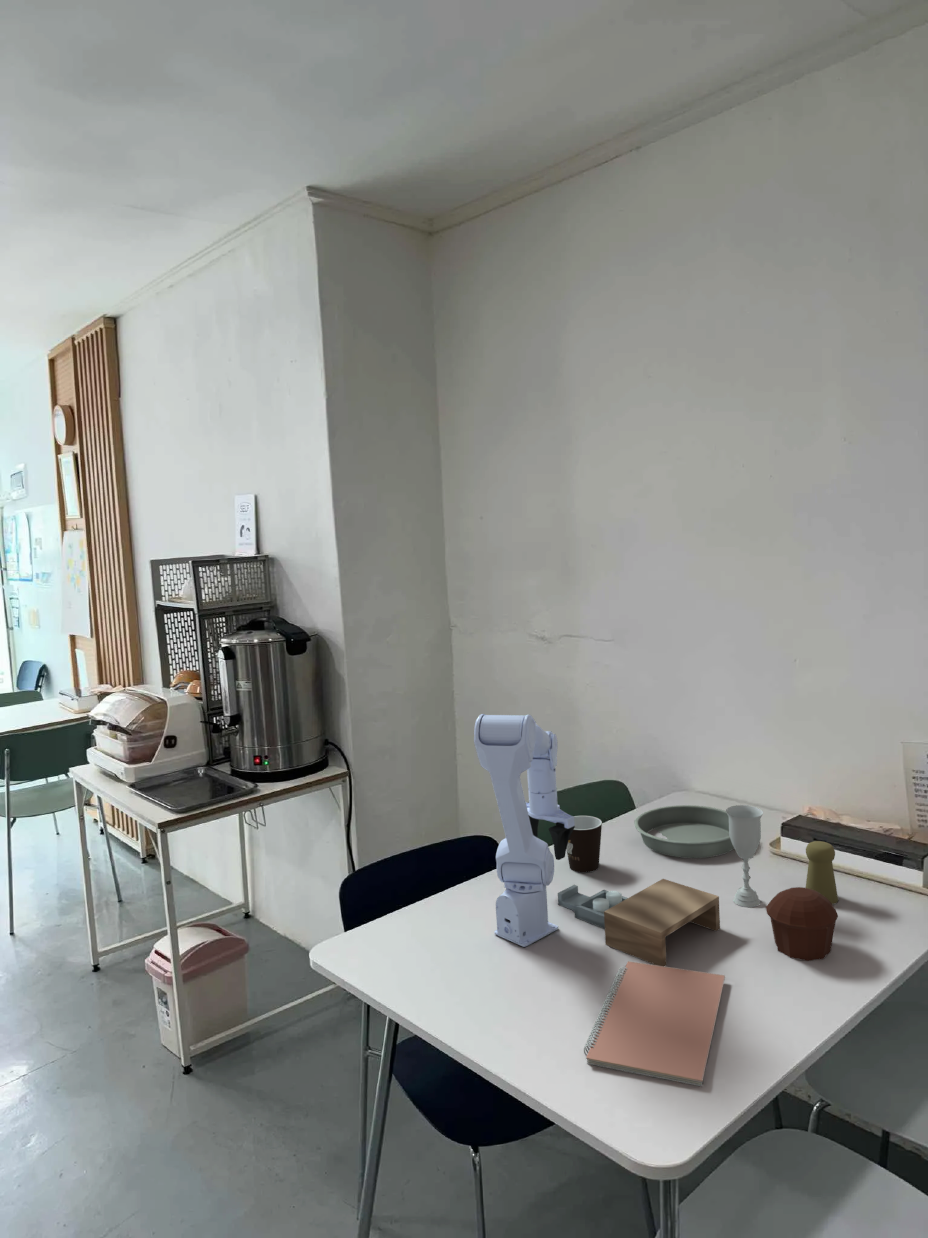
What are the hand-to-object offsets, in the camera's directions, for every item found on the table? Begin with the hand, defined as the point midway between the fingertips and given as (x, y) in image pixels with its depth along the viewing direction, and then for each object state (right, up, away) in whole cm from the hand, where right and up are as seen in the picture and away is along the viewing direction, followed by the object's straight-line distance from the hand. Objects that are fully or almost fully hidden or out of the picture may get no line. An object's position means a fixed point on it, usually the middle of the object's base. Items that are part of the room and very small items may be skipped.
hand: (546, 853), depth 173 cm
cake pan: (+35, -4, +24) cm, 43 cm away
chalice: (+38, -7, -8) cm, 40 cm away
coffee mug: (+10, -7, +14) cm, 19 cm away
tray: (+9, -9, -8) cm, 15 cm away
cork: (+52, -6, -9) cm, 53 cm away
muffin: (+41, -9, -27) cm, 50 cm away
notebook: (+12, -14, -45) cm, 48 cm away
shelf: (+19, -10, -20) cm, 29 cm away
